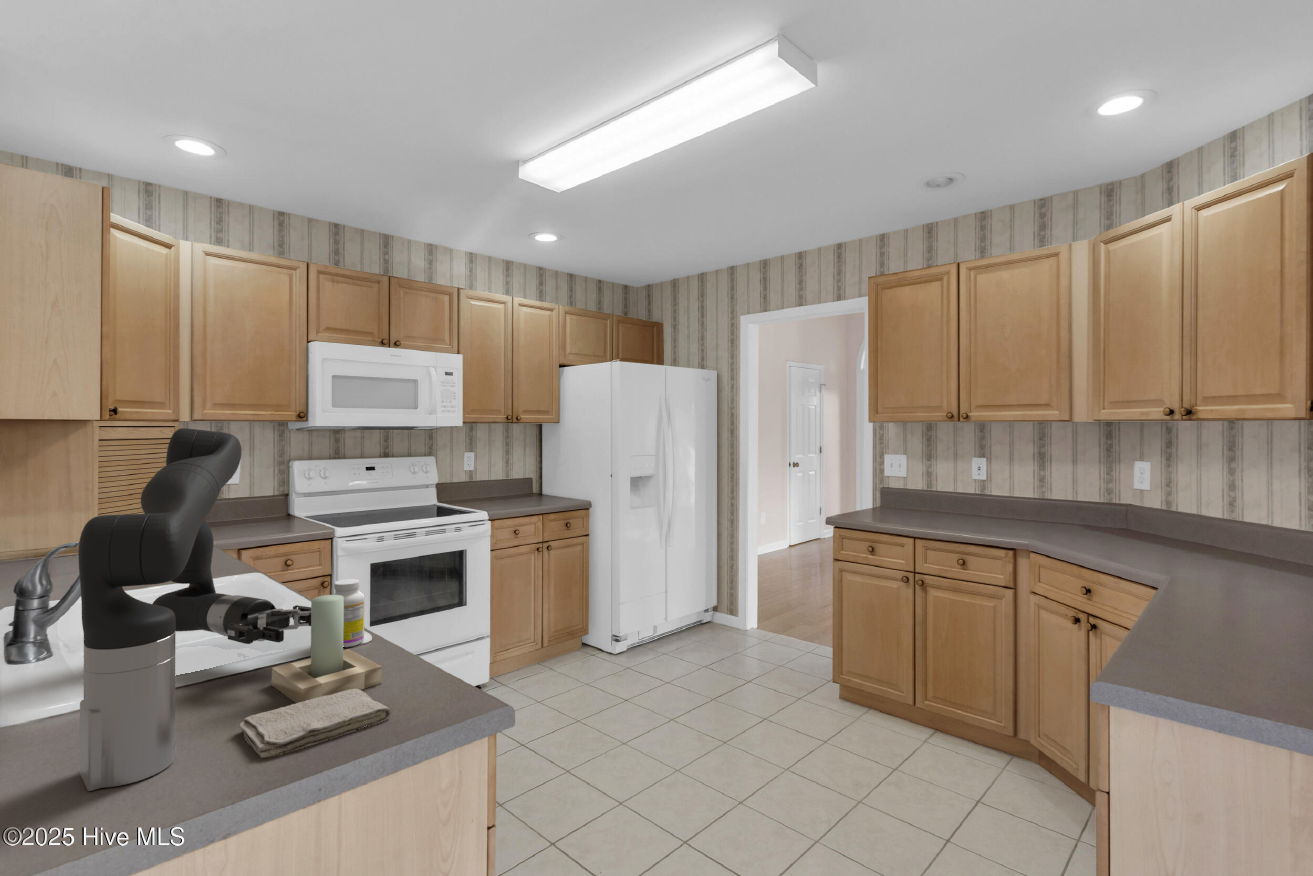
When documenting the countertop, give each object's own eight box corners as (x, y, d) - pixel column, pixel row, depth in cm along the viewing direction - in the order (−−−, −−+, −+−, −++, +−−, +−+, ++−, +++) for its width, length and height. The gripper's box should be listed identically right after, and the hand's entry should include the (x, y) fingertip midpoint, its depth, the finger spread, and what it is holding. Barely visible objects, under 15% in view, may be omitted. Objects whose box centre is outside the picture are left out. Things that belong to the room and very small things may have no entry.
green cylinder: (317, 692, 108) (318, 604, 107) (305, 684, 111) (306, 598, 111) (348, 684, 111) (348, 598, 111) (335, 676, 115) (336, 593, 114)
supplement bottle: (331, 639, 134) (332, 578, 134) (366, 636, 136) (366, 576, 136) (325, 650, 128) (326, 586, 127) (361, 647, 130) (362, 584, 129)
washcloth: (234, 736, 93) (234, 715, 93) (359, 699, 107) (359, 680, 107) (261, 766, 85) (261, 743, 85) (392, 722, 99) (392, 702, 99)
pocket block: (302, 707, 102) (302, 688, 102) (271, 685, 110) (271, 667, 110) (381, 683, 112) (381, 666, 112) (348, 664, 120) (348, 648, 120)
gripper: (202, 606, 112) (266, 618, 106) (277, 588, 126) (338, 598, 120) (202, 649, 113) (266, 663, 107) (277, 626, 126) (337, 637, 120)
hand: (304, 628), depth 113 cm, fingers open, 8 cm apart
